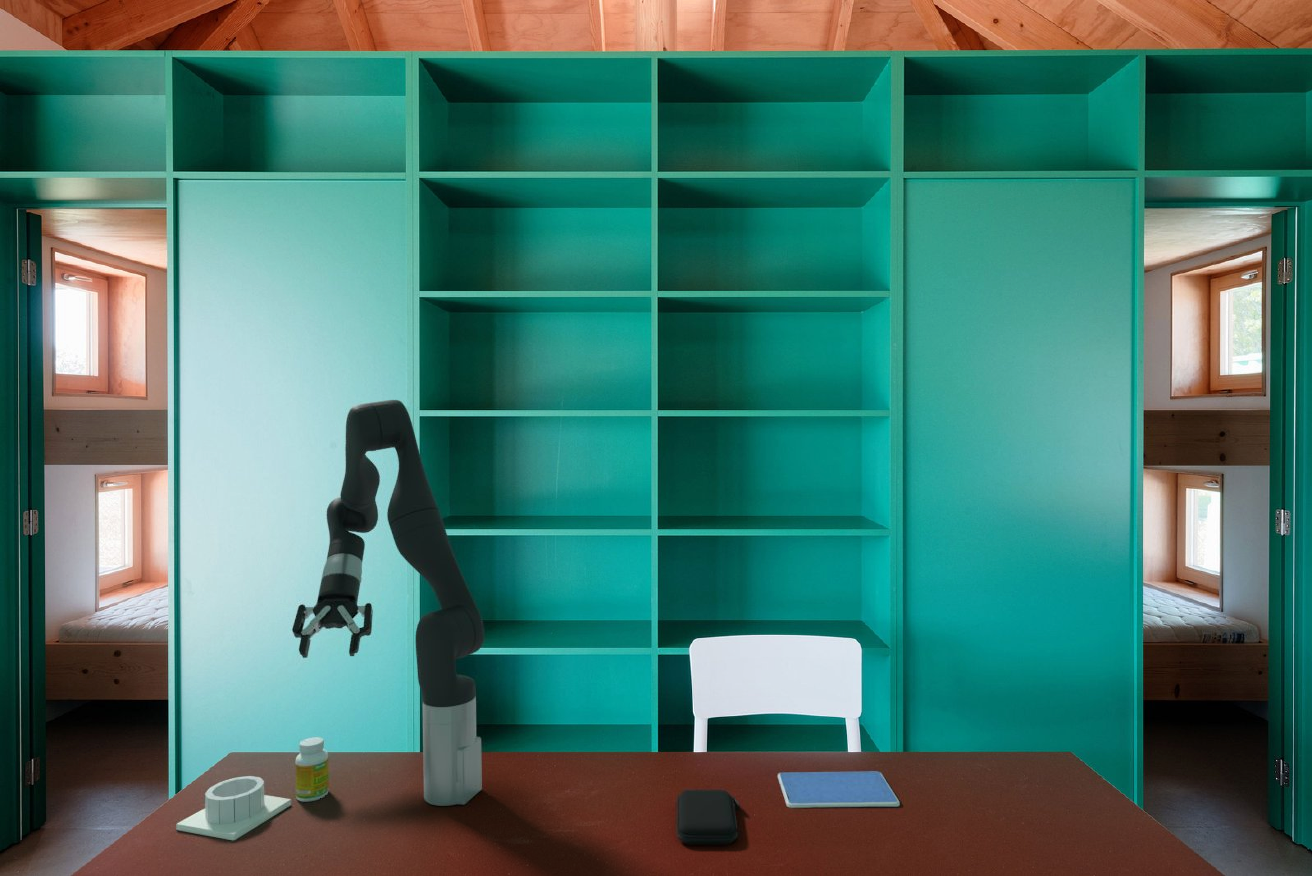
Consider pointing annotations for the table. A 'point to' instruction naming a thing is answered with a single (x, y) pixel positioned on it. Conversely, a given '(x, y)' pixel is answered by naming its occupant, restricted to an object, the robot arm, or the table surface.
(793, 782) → the tablet computer
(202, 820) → the sleeve holder
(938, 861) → the table surface
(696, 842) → the carrying case or bag
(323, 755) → the supplement bottle
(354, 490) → the robot arm
